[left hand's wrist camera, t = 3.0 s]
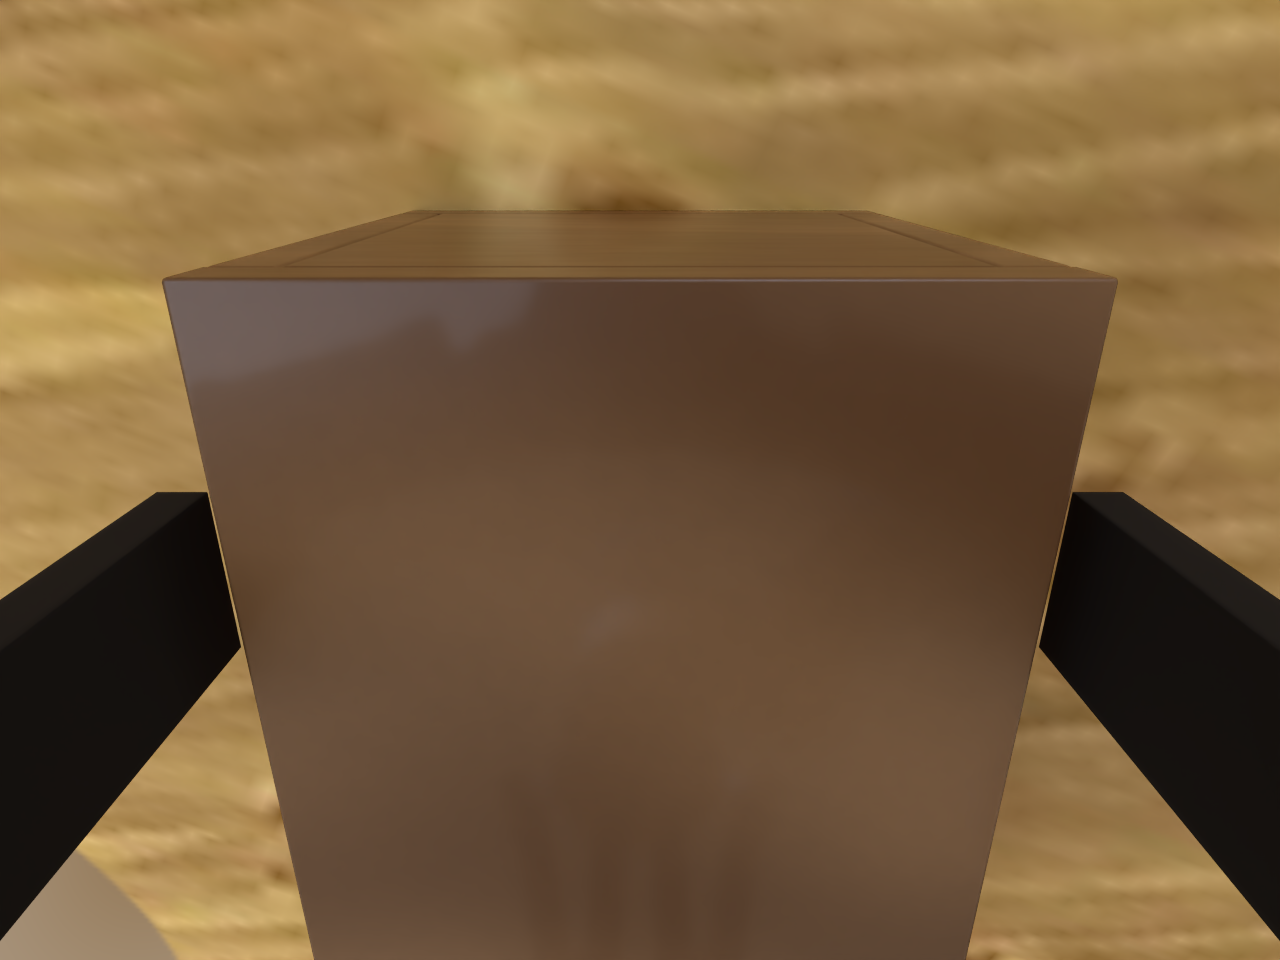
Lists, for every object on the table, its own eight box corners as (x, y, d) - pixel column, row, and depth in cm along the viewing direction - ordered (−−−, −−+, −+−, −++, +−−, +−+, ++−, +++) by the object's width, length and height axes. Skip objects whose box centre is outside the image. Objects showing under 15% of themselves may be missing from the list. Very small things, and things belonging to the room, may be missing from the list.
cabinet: (801, 861, 27) (895, 1275, 17) (477, 861, 27) (384, 1276, 17) (869, 210, 19) (1121, 277, 9) (408, 210, 19) (159, 278, 9)
